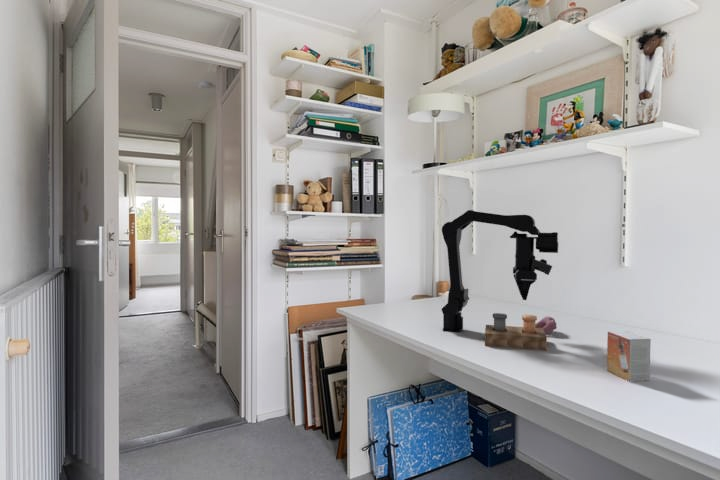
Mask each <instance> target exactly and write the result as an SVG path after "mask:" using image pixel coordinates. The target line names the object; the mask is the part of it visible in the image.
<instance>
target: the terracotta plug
mask: <svg viewBox="0 0 720 480" xmlns="http://www.w3.org/2000/svg"><path fill="white" fill-rule="evenodd" d="M537 319H538V317H537V316H536V315H534V314H522V315H521V320H522V321H523V322H522V324H523V325H522V327H523V333H531V334H535V324H536V321H537Z"/></svg>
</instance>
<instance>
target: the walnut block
mask: <svg viewBox="0 0 720 480" xmlns="http://www.w3.org/2000/svg"><path fill="white" fill-rule="evenodd" d="M547 338H548V337H547V335H545V333H544V330H543V328H535V334H531V333H523V326H512V325H511V326H510V325H506V332H502V331H494V324H486V325H485V329H484V346H485V347H496V348H497V347H499V348H509V349H510V348H511V349H522V350H532V351H533V350H535V351H547V349H548V347H547V346H548V345H547V343H548V341H547Z"/></svg>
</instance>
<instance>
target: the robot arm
mask: <svg viewBox="0 0 720 480" xmlns="http://www.w3.org/2000/svg"><path fill="white" fill-rule="evenodd" d="M473 222H474V223H475V222H476V223H483V224H490V225H496V226H497V225H498V226H504V227H508V228H510V229H512V230H516V231H514V232H513V233H512V234H511V235H510V236H509V238H510V239H515V254H514V257H515V263H514V266H513V267H512V274H513V277H514V280H515V283H516V286H517V288H518V291H519V294H520V296H521V297H522V301H527V299H528V297H529V296H528V295H529V291H530V288H531V285H533V284H534V283H535V282H536V281H537V280H538V279H537V276H538V274H537V273H536V272H535V271H539V272H541V273H544V274H545V275H548V276H549V275H550V274H551V270H552V268H553V265H551V264H548V261H547V260H545V259H543V258H541V259H538V260H537V259H536V256H535V254H534V253H535V252H534V251H535V249H536V250H538V251H539V253H548V254H549V253H551V254H558V253H559V236H558V234H559V233H558V232H555V231H553V232H541V231H540V229H539V228H538V227H537V226H536V221H535V219H534V216H531V215H528V214H509V215H504V214H496V213H488V212H483V211H476V210H473V209H469V210H466V211H465V212H464V213H462V214H461V215H459V216H458V217H456V218H454V219H453V220H452V221H447V222H445V223H444V224H443V225H442V227H441V232H442V233H441V234H442V237H443V241H444V243H445V245H446V248H447V249H446V250H447V260H448V272H449V283H450V284H449V285H450V286H449V289H448V295H447V296H448V297H447V303H446V304H445V305H444V306H443V307H442V308H441V312H442V315H443V320H442V321H443V327H442V332H443V331H447V332H458V333H459V332H461V331H462V330H463V329H464V317H463V316H462V312H463V311H462V310H463V309H464V308H465V307H466V306H468V302H469V300H470V297H469V288H465V287H464V284H463V276H462V275H463V274H462V264H461V252H460V244H461V239H462V233H463V232H462V231H463V230H464V229H466V228H467V227H468V226H469V225H471V223H473ZM518 231H520V232H521V233H519V232H518ZM522 232H523V233H522ZM528 234H529V235H532V236H528Z"/></svg>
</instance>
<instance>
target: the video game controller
mask: <svg viewBox="0 0 720 480" xmlns="http://www.w3.org/2000/svg"><path fill="white" fill-rule="evenodd" d="M535 328H543V330H544V333H545V335H546V336H548V335H550V334H551V333H552V332H554V331H555V330H557V322H556V320H555V318H553V316H552V317H551V316H547V315H546V316H544V317H543V318H541V320H539V321H538V322H535Z"/></svg>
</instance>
